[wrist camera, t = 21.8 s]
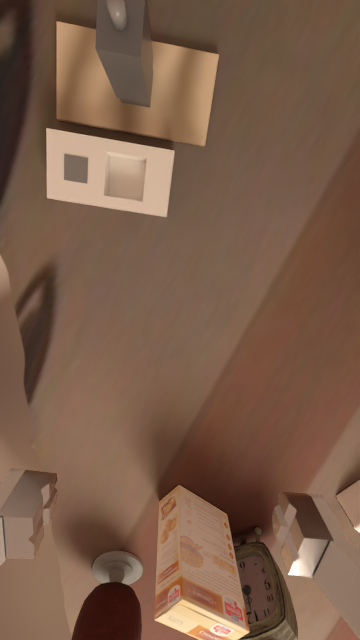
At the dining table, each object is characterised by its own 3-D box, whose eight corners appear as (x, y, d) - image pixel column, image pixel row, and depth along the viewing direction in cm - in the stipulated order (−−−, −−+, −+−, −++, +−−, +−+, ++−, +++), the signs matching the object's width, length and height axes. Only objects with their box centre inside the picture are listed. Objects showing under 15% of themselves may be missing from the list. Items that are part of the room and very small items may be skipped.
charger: (154, 68, 35) (143, -31, 21) (150, 111, 36) (137, 44, 23) (122, 62, 35) (91, -43, 21) (120, 105, 36) (88, 34, 22)
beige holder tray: (174, 157, 39) (174, 150, 35) (166, 217, 42) (166, 216, 38) (58, 137, 38) (46, 127, 34) (58, 200, 40) (46, 197, 37)
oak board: (217, 58, 35) (218, 54, 35) (204, 146, 39) (205, 145, 38) (59, 25, 34) (56, 21, 33) (58, 120, 37) (56, 118, 36)
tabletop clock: (261, 519, 64) (314, 692, 40) (274, 542, 67) (330, 717, 43) (205, 540, 66) (224, 717, 42) (219, 561, 69) (245, 739, 45)
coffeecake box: (158, 501, 61) (152, 621, 43) (179, 482, 60) (182, 598, 41) (207, 530, 65) (221, 652, 46) (228, 513, 63) (251, 633, 45)
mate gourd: (79, 557, 67) (43, 689, 48) (133, 542, 65) (117, 672, 46) (106, 593, 71) (83, 726, 53) (156, 580, 70) (151, 711, 51)
